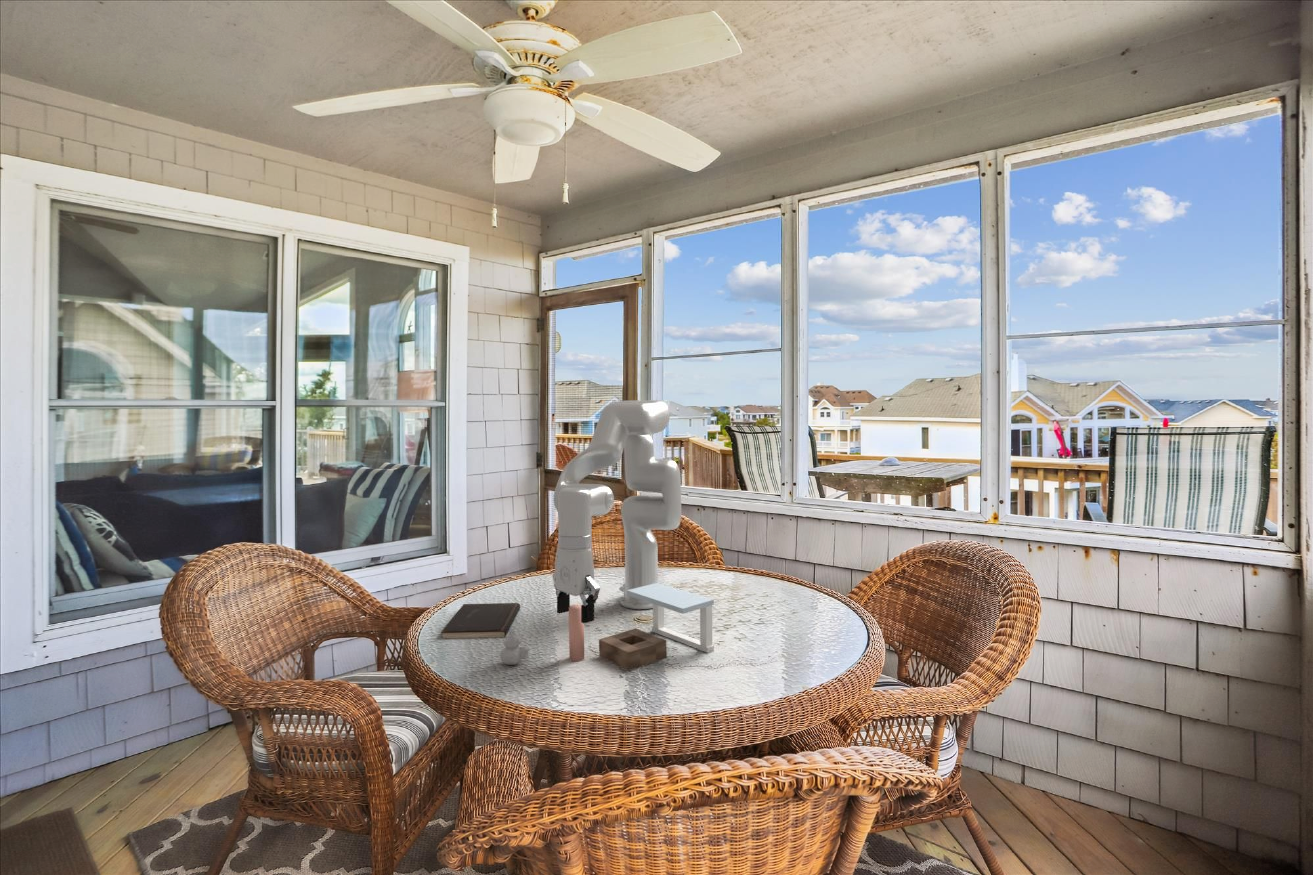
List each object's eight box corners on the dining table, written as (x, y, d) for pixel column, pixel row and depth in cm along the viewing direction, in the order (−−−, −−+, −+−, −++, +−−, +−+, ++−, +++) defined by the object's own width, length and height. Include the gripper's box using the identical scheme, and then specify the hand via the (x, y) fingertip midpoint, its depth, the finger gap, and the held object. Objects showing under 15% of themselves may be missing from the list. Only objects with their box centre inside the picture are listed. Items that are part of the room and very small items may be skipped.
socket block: (599, 656, 152) (599, 639, 151) (635, 644, 159) (635, 628, 159) (629, 670, 143) (629, 652, 143) (666, 657, 151) (666, 640, 150)
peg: (566, 658, 151) (565, 606, 150) (578, 654, 153) (578, 603, 152) (575, 662, 148) (574, 610, 148) (587, 658, 150) (586, 607, 150)
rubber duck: (503, 659, 151) (503, 624, 150) (532, 659, 150) (531, 624, 150) (497, 668, 145) (496, 632, 145) (526, 668, 145) (526, 633, 145)
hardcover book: (440, 640, 164) (440, 631, 164) (463, 611, 187) (463, 603, 187) (505, 639, 165) (505, 630, 165) (520, 610, 188) (520, 602, 188)
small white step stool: (627, 638, 163) (627, 590, 162) (657, 629, 170) (657, 582, 169) (683, 661, 148) (682, 608, 147) (713, 650, 155) (713, 599, 154)
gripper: (540, 539, 153) (541, 611, 154) (583, 550, 140) (583, 629, 141) (567, 535, 158) (567, 605, 158) (611, 545, 145) (611, 622, 146)
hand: (575, 616), depth 150 cm, fingers open, 9 cm apart
